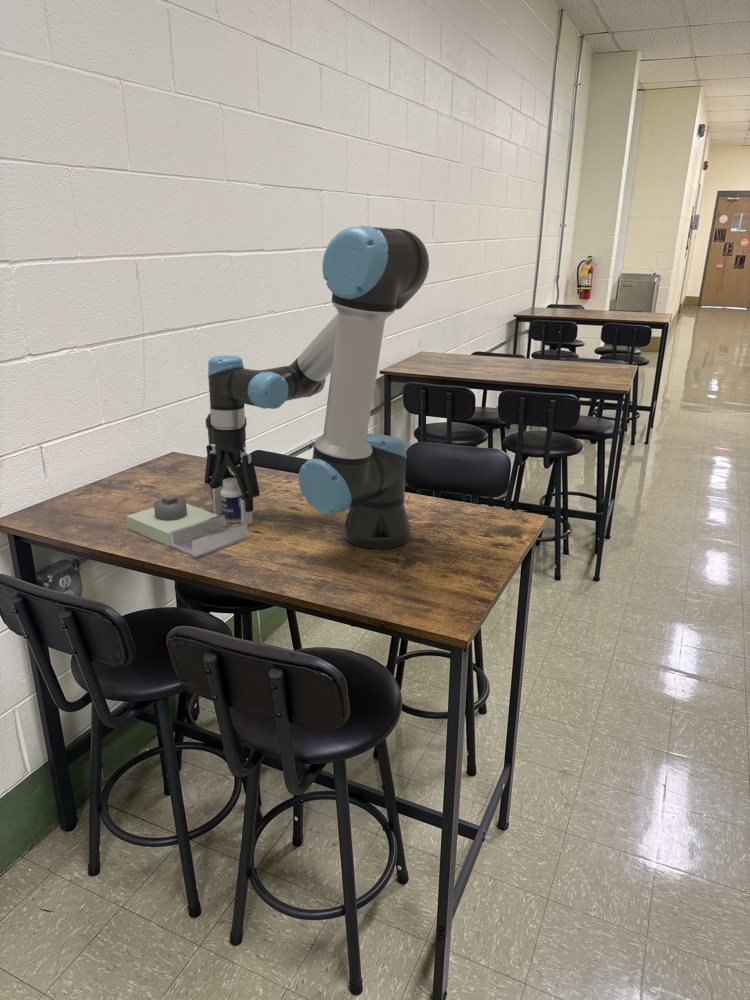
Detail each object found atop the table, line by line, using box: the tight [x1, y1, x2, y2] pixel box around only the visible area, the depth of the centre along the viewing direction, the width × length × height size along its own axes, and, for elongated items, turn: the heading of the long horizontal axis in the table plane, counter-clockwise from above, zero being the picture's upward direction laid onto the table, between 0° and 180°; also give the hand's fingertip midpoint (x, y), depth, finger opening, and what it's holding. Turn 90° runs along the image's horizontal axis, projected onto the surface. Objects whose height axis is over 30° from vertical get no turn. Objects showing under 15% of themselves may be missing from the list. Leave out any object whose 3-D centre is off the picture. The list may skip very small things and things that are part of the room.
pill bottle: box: [220, 478, 243, 524], centre depth 161 cm, size 5×5×10 cm
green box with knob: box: [125, 494, 220, 548], centre depth 155 cm, size 16×14×7 cm
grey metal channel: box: [170, 514, 249, 559], centre depth 149 cm, size 8×14×4 cm, turn 142°
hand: (232, 518), depth 163 cm, fingers open, 9 cm apart
